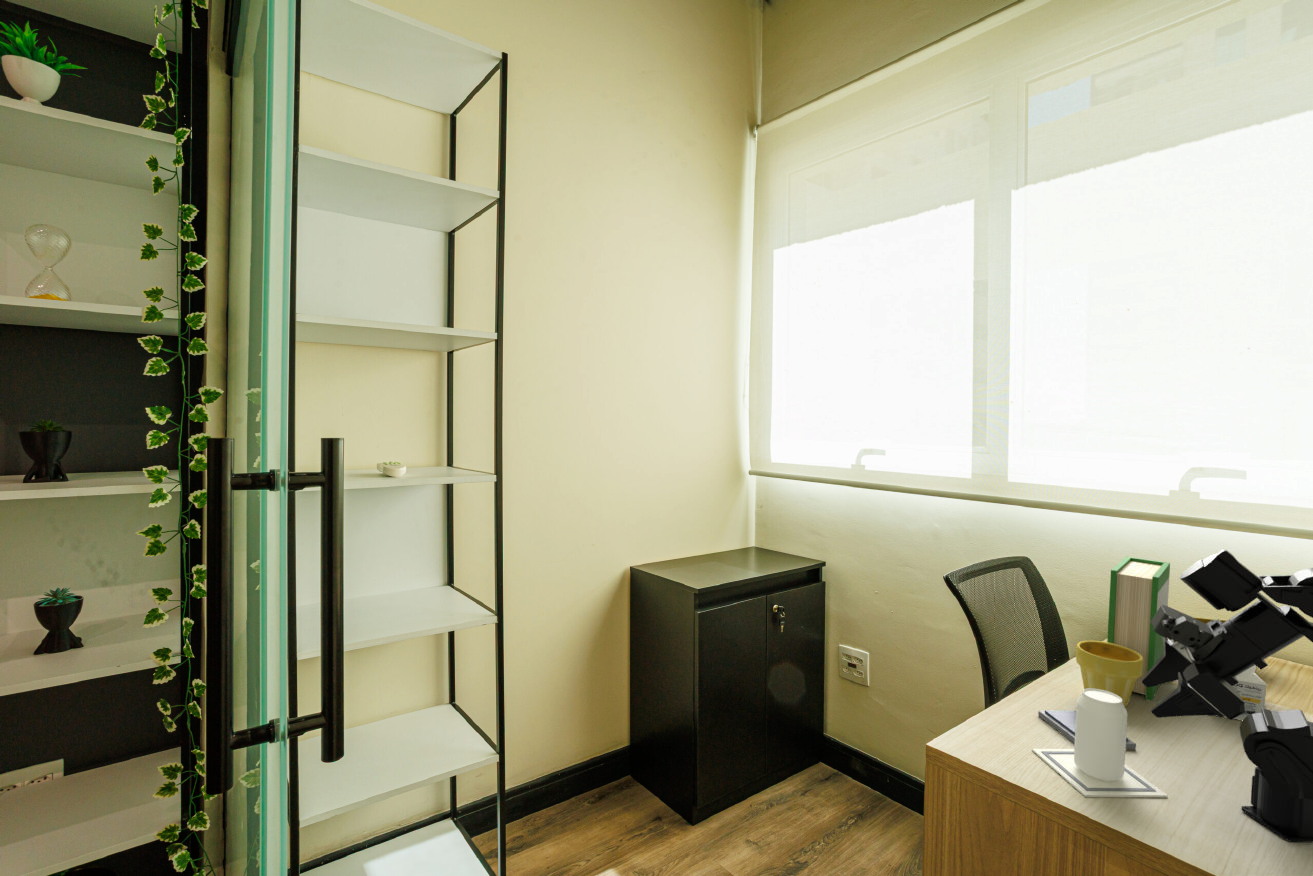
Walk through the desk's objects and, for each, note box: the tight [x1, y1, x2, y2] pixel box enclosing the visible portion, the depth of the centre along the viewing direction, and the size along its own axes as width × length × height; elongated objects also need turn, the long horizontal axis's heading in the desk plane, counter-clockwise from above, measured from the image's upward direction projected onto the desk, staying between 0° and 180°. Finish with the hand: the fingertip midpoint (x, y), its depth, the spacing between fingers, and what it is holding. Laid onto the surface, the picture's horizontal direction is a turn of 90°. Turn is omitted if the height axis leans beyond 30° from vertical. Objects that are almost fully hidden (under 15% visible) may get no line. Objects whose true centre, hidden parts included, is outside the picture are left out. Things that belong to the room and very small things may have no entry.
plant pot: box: [1075, 640, 1143, 708], centre depth 118 cm, size 10×10×10 cm
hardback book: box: [1106, 556, 1171, 702], centre depth 127 cm, size 18×7×24 cm, turn 135°
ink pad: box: [1037, 709, 1137, 751], centre depth 106 cm, size 11×9×1 cm
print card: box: [1031, 748, 1168, 798], centre depth 94 cm, size 12×12×1 cm
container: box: [1223, 665, 1267, 721], centre depth 115 cm, size 8×8×13 cm
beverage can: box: [1073, 688, 1128, 782], centre depth 93 cm, size 6×6×12 cm
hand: (1148, 698), depth 91 cm, fingers open, 9 cm apart
